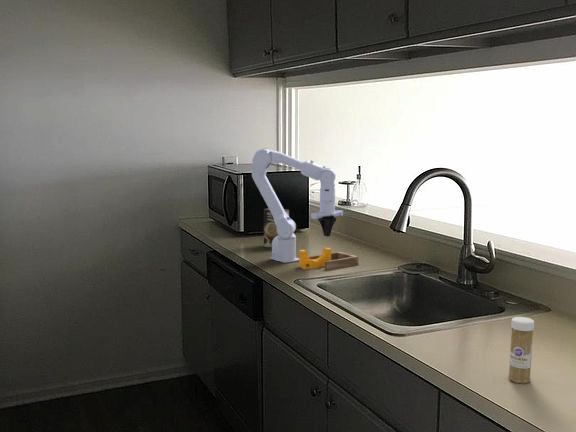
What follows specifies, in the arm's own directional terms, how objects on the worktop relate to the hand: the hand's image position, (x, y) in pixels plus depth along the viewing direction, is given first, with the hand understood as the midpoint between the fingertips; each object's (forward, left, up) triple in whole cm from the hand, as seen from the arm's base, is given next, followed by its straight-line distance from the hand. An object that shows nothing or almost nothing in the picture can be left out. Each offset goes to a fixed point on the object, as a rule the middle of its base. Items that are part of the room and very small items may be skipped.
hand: (326, 235), depth 258 cm
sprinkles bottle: (+113, -44, -10) cm, 122 cm away
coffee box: (-35, +2, -10) cm, 36 cm away
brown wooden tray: (+6, -2, -10) cm, 11 cm away
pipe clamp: (+4, -9, -10) cm, 14 cm away
